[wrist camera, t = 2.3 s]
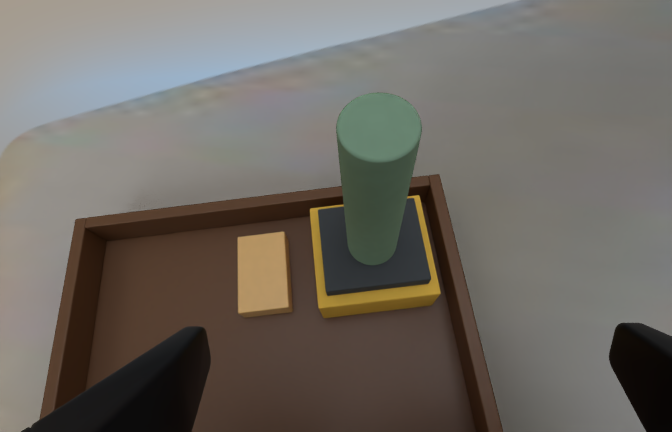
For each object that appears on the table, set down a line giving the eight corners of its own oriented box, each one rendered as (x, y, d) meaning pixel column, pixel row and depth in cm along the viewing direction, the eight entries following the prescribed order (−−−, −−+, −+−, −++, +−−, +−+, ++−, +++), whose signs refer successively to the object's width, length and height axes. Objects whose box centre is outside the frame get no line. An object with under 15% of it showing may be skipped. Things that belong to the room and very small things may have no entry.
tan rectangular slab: (292, 312, 20) (289, 307, 19) (244, 318, 20) (237, 313, 19) (288, 239, 22) (284, 230, 21) (243, 244, 22) (237, 236, 21)
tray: (431, 196, 23) (439, 173, 21) (493, 460, 18) (513, 470, 15) (104, 236, 23) (74, 218, 21) (64, 510, 18) (18, 527, 16)
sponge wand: (432, 305, 20) (514, 197, 9) (323, 318, 20) (277, 226, 9) (413, 215, 22) (462, 40, 11) (314, 227, 22) (269, 65, 11)
